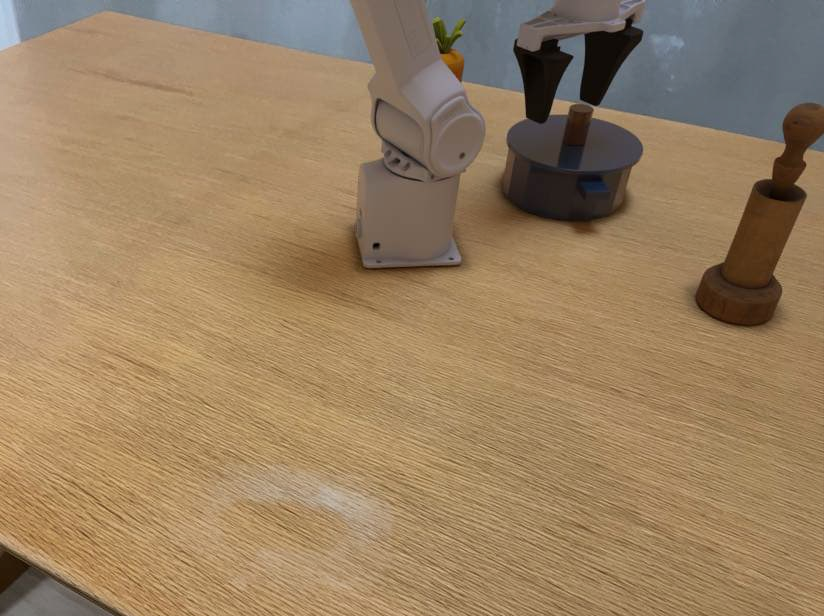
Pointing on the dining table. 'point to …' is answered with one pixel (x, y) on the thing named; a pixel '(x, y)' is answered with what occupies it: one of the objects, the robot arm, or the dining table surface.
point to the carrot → (449, 46)
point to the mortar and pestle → (763, 231)
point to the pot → (562, 191)
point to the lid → (575, 143)
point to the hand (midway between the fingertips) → (563, 111)
